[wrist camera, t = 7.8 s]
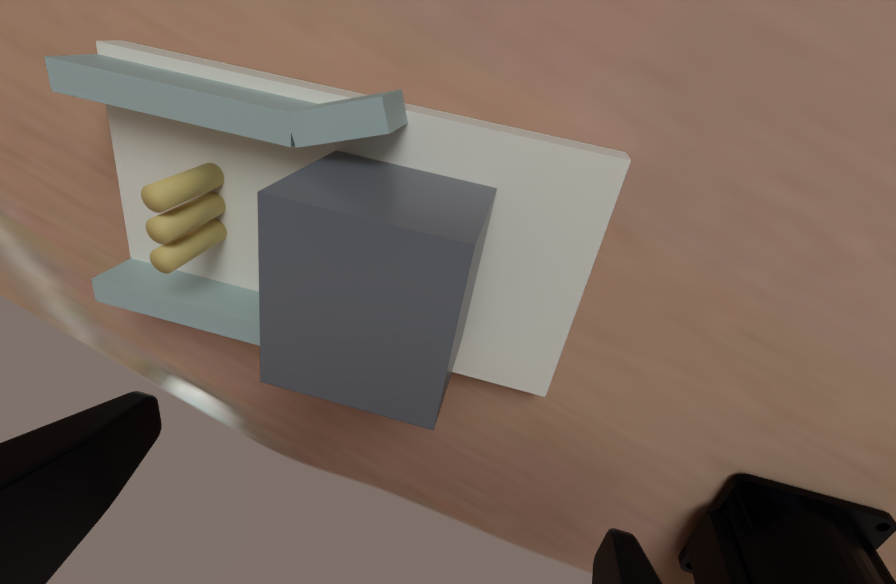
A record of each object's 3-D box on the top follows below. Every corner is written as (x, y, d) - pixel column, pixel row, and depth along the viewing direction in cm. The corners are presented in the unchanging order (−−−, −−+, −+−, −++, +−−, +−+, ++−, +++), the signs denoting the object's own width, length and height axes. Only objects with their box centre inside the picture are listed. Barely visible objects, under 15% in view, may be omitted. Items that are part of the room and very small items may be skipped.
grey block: (497, 187, 16) (475, 245, 12) (461, 340, 19) (433, 430, 15) (335, 150, 17) (257, 191, 12) (326, 304, 20) (260, 381, 15)
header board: (632, 133, 16) (655, 164, 12) (542, 389, 21) (539, 464, 17) (120, 22, 17) (3, 19, 14) (156, 286, 22) (79, 334, 19)
